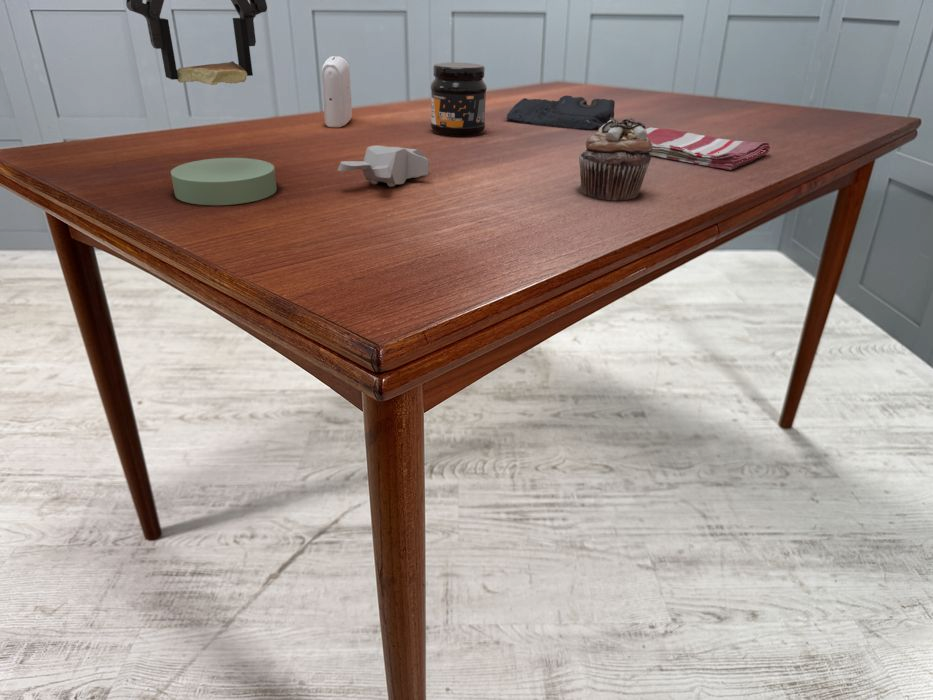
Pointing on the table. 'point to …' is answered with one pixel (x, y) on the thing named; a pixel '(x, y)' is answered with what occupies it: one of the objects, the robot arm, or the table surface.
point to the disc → (224, 181)
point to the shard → (213, 73)
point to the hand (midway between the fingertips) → (210, 76)
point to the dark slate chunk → (563, 112)
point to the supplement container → (458, 99)
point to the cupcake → (615, 160)
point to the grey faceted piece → (389, 164)
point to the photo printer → (336, 92)
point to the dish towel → (703, 148)
